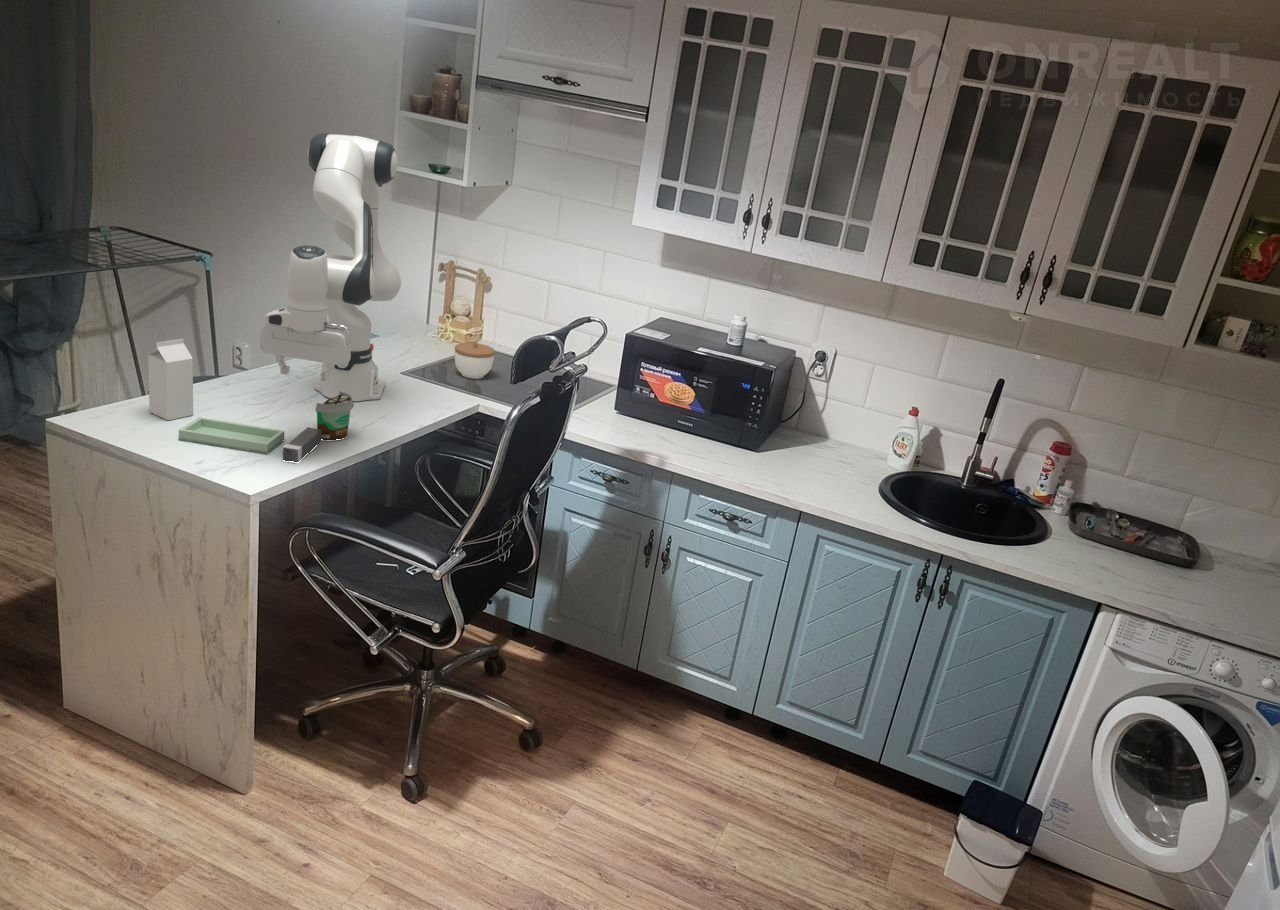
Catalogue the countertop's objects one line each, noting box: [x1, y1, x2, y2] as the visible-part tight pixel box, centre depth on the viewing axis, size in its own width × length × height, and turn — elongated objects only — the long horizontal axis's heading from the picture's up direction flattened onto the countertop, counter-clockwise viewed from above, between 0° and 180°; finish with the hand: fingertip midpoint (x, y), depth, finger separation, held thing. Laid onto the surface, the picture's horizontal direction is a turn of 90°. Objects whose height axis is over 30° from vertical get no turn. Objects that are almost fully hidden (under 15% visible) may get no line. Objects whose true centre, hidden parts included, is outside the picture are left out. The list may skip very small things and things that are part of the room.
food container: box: [315, 391, 355, 440], centre depth 239 cm, size 12×6×10 cm, turn 168°
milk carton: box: [147, 338, 194, 421], centre depth 235 cm, size 7×7×19 cm
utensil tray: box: [178, 416, 286, 455], centre depth 228 cm, size 10×21×2 cm, turn 87°
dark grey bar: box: [282, 427, 322, 462], centre depth 228 cm, size 15×4×4 cm, turn 177°
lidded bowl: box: [454, 341, 496, 380], centre depth 305 cm, size 13×13×11 cm
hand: (304, 377), depth 222 cm, fingers open, 8 cm apart
